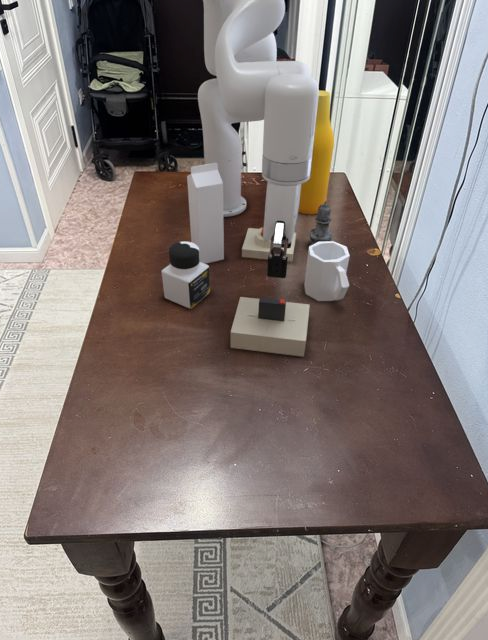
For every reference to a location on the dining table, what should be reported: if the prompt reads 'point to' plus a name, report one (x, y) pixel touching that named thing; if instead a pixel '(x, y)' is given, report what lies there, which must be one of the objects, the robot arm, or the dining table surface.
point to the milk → (206, 211)
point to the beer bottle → (319, 160)
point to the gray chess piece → (321, 225)
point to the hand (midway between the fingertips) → (279, 261)
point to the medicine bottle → (185, 275)
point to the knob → (272, 309)
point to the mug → (327, 271)
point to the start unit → (262, 245)
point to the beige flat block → (270, 329)
